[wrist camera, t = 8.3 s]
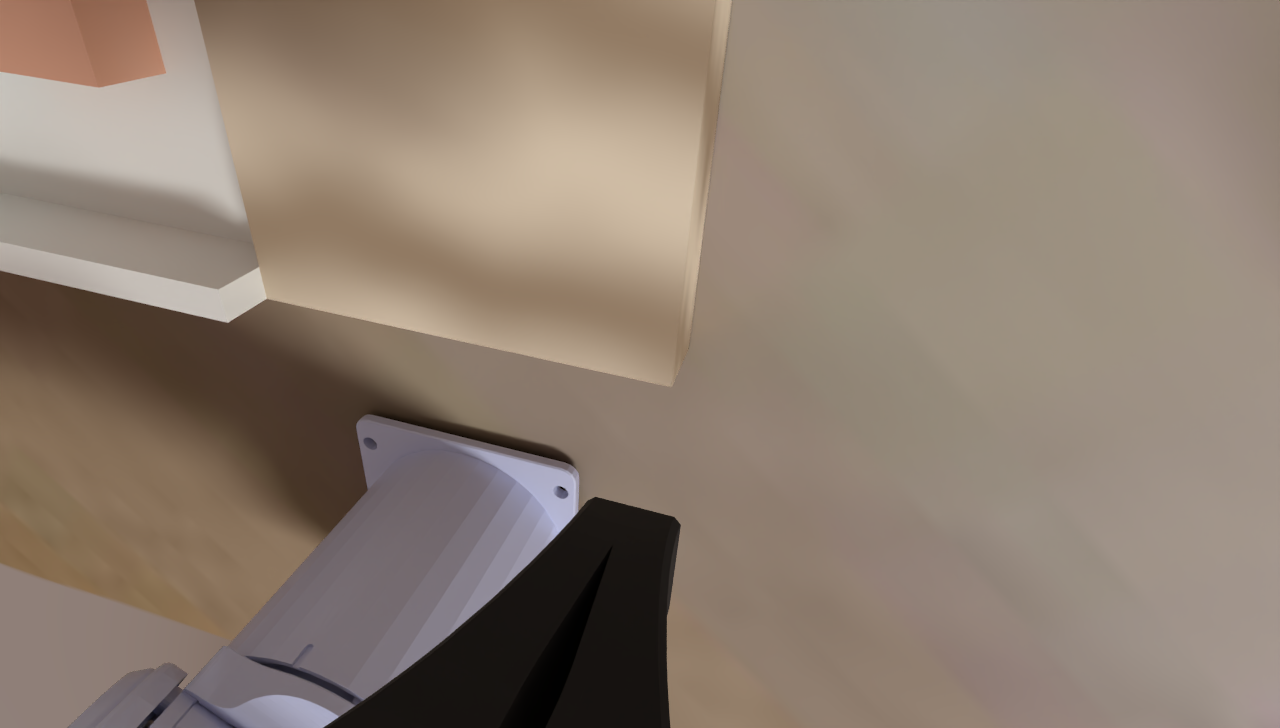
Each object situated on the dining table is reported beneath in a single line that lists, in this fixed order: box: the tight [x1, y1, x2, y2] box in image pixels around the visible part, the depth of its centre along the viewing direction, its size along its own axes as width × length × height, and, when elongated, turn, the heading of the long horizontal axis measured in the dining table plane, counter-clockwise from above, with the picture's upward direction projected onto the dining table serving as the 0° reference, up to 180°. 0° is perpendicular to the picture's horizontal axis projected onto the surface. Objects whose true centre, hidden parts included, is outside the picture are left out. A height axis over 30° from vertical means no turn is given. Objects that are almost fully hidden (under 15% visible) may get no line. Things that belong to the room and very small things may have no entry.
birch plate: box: [194, 0, 732, 387], centre depth 16 cm, size 16×12×2 cm
